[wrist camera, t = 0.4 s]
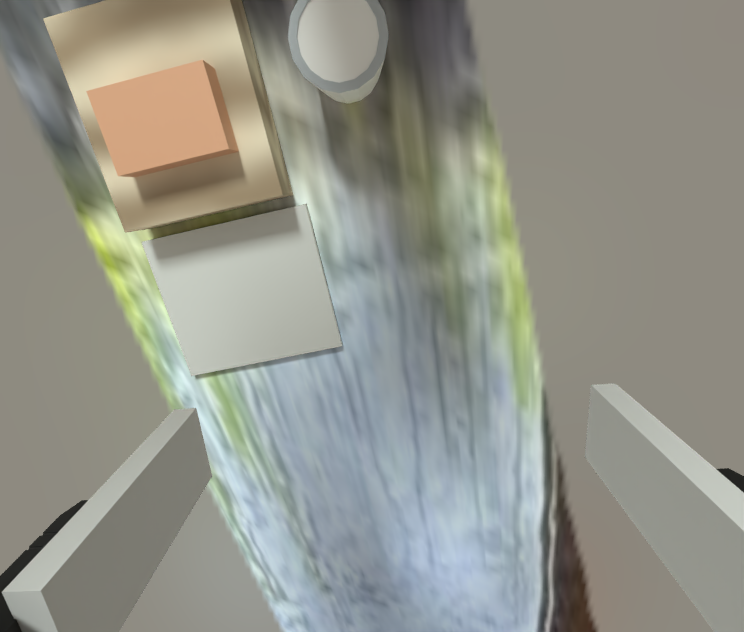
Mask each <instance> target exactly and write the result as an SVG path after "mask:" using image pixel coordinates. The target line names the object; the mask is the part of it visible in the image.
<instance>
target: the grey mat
mask: <svg viewBox="0 0 744 632" xmlns="http://www.w3.org/2000/svg"><path fill="white" fill-rule="evenodd" d="M142 245H143V248H144V250H145V253H146V256H147V258H148V261H149V264H150V266H151V269H152V272H153V274H154V277H155V280H156V282H157V285H158V288H159V290H160V293H161V296H162V298H163V301H164V304H165V306H166V309H167V312H168V314H169V317H170V320H171V322H172V325H173V328H174V330H175V333H176V336H177V338H178V341H179V344H180V346H181V349H182V352H183V354H184V357H185V360H186V362H187V365H188V368H189V370H190V373H191V376H194V375H199V374H204V373H209V372H214V371H219V370H224V369H229V368H234V367H239V366H244V365H250V364H255V363H260V362H265V361H270V360H275V359H280V358H285V357H290V356H295V355H300V354H305V353H310V352H315V351H321V350H326V349H331V348H336V347H341V346H342V340H341V336H340V332H339V328H338V324H337V320H336V316H335V313H334V309H333V305H332V301H331V297H330V293H329V289H328V285H327V281H326V277H325V274H324V270H323V266H322V262H321V258H320V254H319V250H318V246H317V242H316V238H315V235H314V231H313V227H312V223H311V219H310V215H309V211H308V207H307V204H303V205H299V206H295V207H290V208H286V209H282V210H277V211H273V212H269V213H264V214H260V215H256V216H251V217H247V218H243V219H239V220H234V221H230V222H226V223H221V224H217V225H213V226H208V227H204V228H200V229H195V230H191V231H187V232H182V233H178V234H174V235H169V236H165V237H161V238H156V239H152V240H148V241H144V242H142Z"/></svg>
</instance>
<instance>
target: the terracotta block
mask: <svg viewBox="0 0 744 632" xmlns="http://www.w3.org/2000/svg"><path fill="white" fill-rule="evenodd" d="M86 92H87V95H88V97H89V100H90V103H91V105H92V108H93V111H94V113H95V116H96V119H97V121H98V124H99V127H100V129H101V132H102V135H103V137H104V140H105V143H106V145H107V148H108V151H109V153H110V156H111V159H112V162H113V164H114V167H115V170H116V172H117V175H118V176H122V177H138V176H142V175H146V174H150V173H154V172H158V171H162V170H166V169H170V168H174V167H178V166H182V165H186V164H190V163H194V162H198V161H203V160H207V159H211V158H215V157H219V156H223V155H227V154H231V153H235V152H239V150H238V146H237V143H236V139H235V136H234V133H233V129H232V126H231V122H230V119H229V115H228V112H227V109H226V105H225V102H224V98H223V95H222V91H221V88H220V84H219V81H218V78H217V74H216V71H215V68H213V67H212V66H211V65H209V64H208V63H207V62H205V61H204V60H199V61H195V62H192V63H188V64H184V65H181V66H177V67H173V68H170V69H166V70H162V71H158V72H155V73H151V74H147V75H144V76H140V77H136V78H133V79H129V80H125V81H122V82H118V83H114V84H111V85H107V86H103V87H99V88H96V89H92V90H88V91H86Z"/></svg>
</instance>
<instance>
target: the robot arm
mask: <svg viewBox="0 0 744 632" xmlns="http://www.w3.org/2000/svg"><path fill="white" fill-rule="evenodd" d="M585 458H586V459H587V461H588V462H589V464H590V465H591V466H592V468H593V469H594V470H595V471H596V473H597V474H598V476H599V477H600V478H601V480H602V481H603V482H604V484H605V485H606V486H607V488H608V489H609V490H610V492H611V493H612V495H613V496H614V497H615V499H616V500H617V501H618V502H619V504H620V505H621V507H622V508H623V509H624V510H625V512H626V513H627V515H628V516H629V517H630V519H631V520H632V521H633V523H634V524H635V525H636V527H637V528H638V529H639V531H640V532H641V534H642V535H643V536H644V538H645V539H646V540H647V542H648V543H649V544H650V546H651V547H652V548H653V550H654V551H655V552H656V554H657V555H658V556H659V558H660V559H661V561H662V562H663V563H664V565H665V566H666V567H667V568H668V570H669V571H670V573H671V574H672V575H673V577H674V578H675V579H676V581H677V582H678V583H679V585H680V586H681V587H682V589H683V590H684V592H685V593H686V594H687V596H688V597H689V598H690V600H691V601H692V602H693V604H694V605H695V606H696V607H697V609H698V610H699V612H700V613H701V614H702V616H703V617H704V618H705V620H706V621H707V623H708V624H709V625H710V626H711V628H712V629H713V630H714V632H744V476H742V475H740V474H738V473H736V472H734V471H732V470H731V469H729V468H727V469H715V468H714V467H713V466H712V465H711V464H709V463H708V462H707V461H706V460H705V459H703V458H702V457H701V456H700V455H699V454H698V453H696V452H695V451H694V450H693V449H692V448H691V447H689V446H688V445H687V444H686V443H685V442H683V441H682V440H681V439H680V438H679V437H677V436H676V435H675V434H674V433H673V432H672V431H671V430H669V429H668V428H667V427H666V426H664V425H663V424H662V423H661V422H660V421H659V420H658V419H656V418H655V417H654V416H653V415H652V414H651V413H649V412H648V411H647V410H646V409H645V408H643V407H642V406H641V405H640V404H639V403H638V402H636V401H635V400H634V399H633V398H632V397H630V396H629V395H628V394H627V393H626V392H625V391H623V390H622V389H621V388H620V387H619V386H618V385H616V384H600V385H591V393H590V403H589V415H588V426H587V438H586V451H585ZM211 477H212V474H211V469H210V465H209V461H208V457H207V452H206V448H205V444H204V439H203V435H202V431H201V427H200V422H199V418H198V414H197V410H196V408H191V409H174V410H173V411H172V412H171V413H170V415H169V416H168V417H167V418H166V419H165V420H164V421H163V422H162V423H161V424H160V425H159V426H158V427H157V429H155V430H154V432H153V433H152V434H151V435H150V436H149V437H148V438H147V439H146V440H145V441H144V442H143V443H142V444H141V445H140V447H138V448H137V450H136V451H135V452H134V453H133V454H132V455H131V456H130V457H129V458H128V459H127V460H126V461H125V462H124V463H123V464H122V465H121V466H120V467H119V468H118V470H117V471H116V472H115V473H114V474H113V475H112V476H111V477H110V478H109V479H108V480H107V481H106V482H105V483H104V484H103V485H102V487H101V488H100V489H99V490H98V491H97V492H96V493H95V494H94V495H93V496H92V497H91V498H90V499H89V500H84V501H80V502H79V503H77V504H76V505H75V506H73V507H72V508H70V509H69V510H68V511H66V512H64V513H63V514H61V515H60V516H59V517H58V518H57V519H56V520H55V521H54V522H53V523H52V524H51V525H50V526H49V527H48V528H47V529H46V530H45V531H44V532H43V536H39V537H38V538H37V539H36V540H35V541H34V542H33V543H32V544H31V545H30V546H29V550H25V551H24V552H23V553H22V555H21V556H20V557H19V558H18V559H17V560H16V561H15V562H14V563H13V564H12V565H11V566H10V567H9V568H8V569H7V570H6V571H5V572H4V573H3V574H2V575H1V576H0V632H119V631H120V629H121V628H122V626H123V624H124V623H125V621H126V619H127V618H128V616H129V614H130V613H131V611H132V609H133V608H134V606H135V604H136V603H137V601H138V599H139V597H140V596H141V594H142V593H143V591H144V589H145V587H146V586H147V584H148V582H149V581H150V579H151V577H152V576H153V574H154V572H155V570H156V569H157V567H158V565H159V564H160V562H161V561H162V559H163V557H164V556H165V554H166V552H167V551H168V549H169V547H170V546H171V544H172V542H173V541H174V539H175V537H176V536H177V534H178V532H179V531H180V529H181V527H182V525H183V524H184V522H185V520H186V519H187V517H188V515H189V514H190V512H191V510H192V509H193V507H194V505H195V504H196V502H197V500H198V499H199V497H200V495H201V494H202V492H203V490H204V489H205V487H206V485H207V484H208V482H209V480H210V479H211Z"/></svg>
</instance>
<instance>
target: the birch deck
mask: <svg viewBox="0 0 744 632" xmlns="http://www.w3.org/2000/svg"><path fill="white" fill-rule="evenodd" d="M44 22H45V25H46V27H47V30H48V32H49V35H50V38H51V40H52V43H53V45H54V48H55V51H56V53H57V56H58V58H59V61H60V64H61V66H62V69H63V72H64V74H65V77H66V79H67V82H68V85H69V87H70V90H71V92H72V95H73V98H74V100H75V103H76V105H77V108H78V111H79V113H80V116H81V118H82V121H83V124H84V126H85V129H86V132H87V134H88V137H89V139H90V142H91V145H92V147H93V150H94V152H95V155H96V158H97V160H98V163H99V165H100V168H101V171H102V173H103V176H104V178H105V181H106V184H107V186H108V189H109V192H110V194H111V197H112V199H113V202H114V205H115V207H116V210H117V212H118V215H119V218H120V220H121V223H122V225H123V228H124V231H125V232H132V231H138V230H145V229H151V228H155V227H160V226H164V225H168V224H172V223H177V222H181V221H185V220H189V219H194V218H198V217H202V216H206V215H211V214H215V213H219V212H224V211H228V210H232V209H236V208H241V207H245V206H249V205H253V204H258V203H262V202H266V201H270V200H275V199H279V198H283V197H288V196H292V195H293V192H292V189H291V185H290V181H289V177H288V173H287V170H286V166H285V162H284V158H283V154H282V151H281V147H280V143H279V139H278V135H277V132H276V128H275V124H274V120H273V116H272V113H271V109H270V105H269V101H268V97H267V94H266V90H265V86H264V82H263V79H262V75H261V71H260V67H259V63H258V60H257V56H256V52H255V48H254V44H253V41H252V37H251V33H250V29H249V25H248V22H247V18H246V14H245V10H244V6H243V3H242V0H105V1H102V2H98V3H95V4H91V5H88V6H85V7H81V8H78V9H74V10H71V11H68V12H64V13H61V14H57V15H54V16H50V17H47V18H44ZM199 60H204V61H205V62H207V63H208V64H209V65H211V66H212V67H213V68H215V71H216V74H217V78H218V81H219V84H220V88H221V91H222V95H223V98H224V102H225V105H226V109H227V112H228V115H229V119H230V122H231V126H232V129H233V133H234V136H235V139H236V143H237V146H238V150H239V152H235V153H231V154H227V155H223V156H219V157H215V158H211V159H207V160H203V161H198V162H194V163H190V164H186V165H182V166H178V167H174V168H170V169H166V170H162V171H158V172H154V173H150V174H146V175H142V176H138V177H122V176H118V175H117V172H116V170H115V167H114V164H113V162H112V159H111V156H110V153H109V151H108V148H107V145H106V143H105V140H104V137H103V135H102V132H101V129H100V127H99V124H98V121H97V119H96V116H95V113H94V111H93V108H92V105H91V103H90V100H89V97H88V95H87V92H86V91H88V90H92V89H96V88H99V87H103V86H107V85H111V84H114V83H118V82H122V81H125V80H129V79H133V78H136V77H140V76H144V75H147V74H151V73H155V72H158V71H162V70H166V69H170V68H173V67H177V66H181V65H184V64H188V63H192V62H195V61H199Z"/></svg>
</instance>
